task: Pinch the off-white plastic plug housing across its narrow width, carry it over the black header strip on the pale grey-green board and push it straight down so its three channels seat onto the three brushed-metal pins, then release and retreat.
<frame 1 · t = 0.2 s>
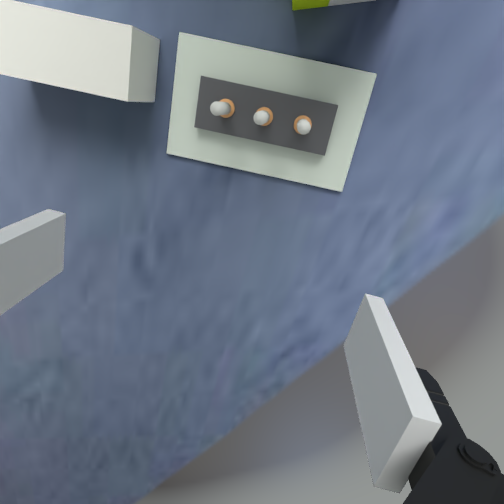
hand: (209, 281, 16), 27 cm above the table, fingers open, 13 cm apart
housing: (92, 58, 39), on the table
header: (265, 116, 39), on the table
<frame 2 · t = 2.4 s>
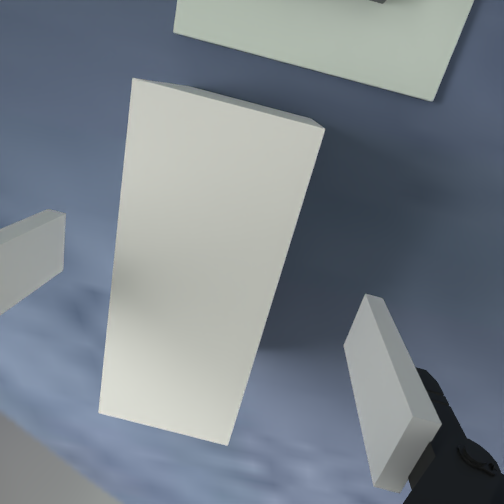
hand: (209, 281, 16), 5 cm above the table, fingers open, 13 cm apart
housing: (220, 235, 20), on the table
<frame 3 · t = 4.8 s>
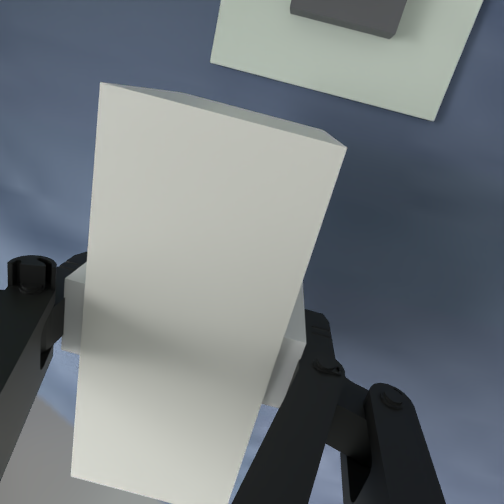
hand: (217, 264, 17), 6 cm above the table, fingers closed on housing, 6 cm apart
housing: (218, 261, 18), point 5 cm above the table, touching gripper
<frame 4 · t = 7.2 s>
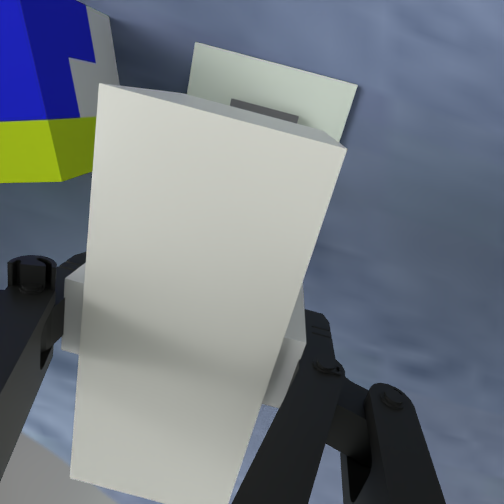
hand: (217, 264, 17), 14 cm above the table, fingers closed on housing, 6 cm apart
puzzle toy: (61, 95, 29), on the table
housing: (217, 262, 18), point 14 cm above the table, touching gripper
header: (245, 195, 30), on the table
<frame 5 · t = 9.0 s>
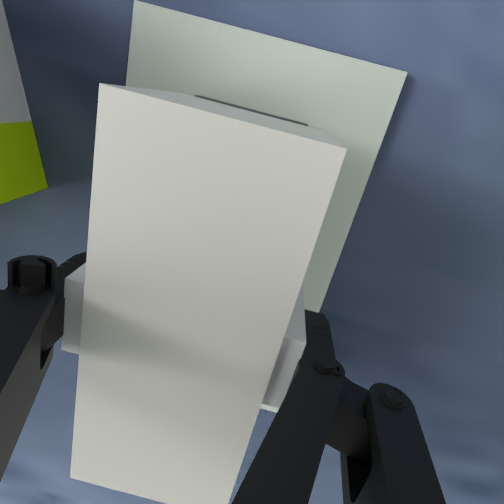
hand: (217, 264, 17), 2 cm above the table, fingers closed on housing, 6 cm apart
housing: (218, 262, 18), point 2 cm above the table, touching gripper
header: (223, 245, 20), on the table
when the fingers open (2 cm above the table, at t = 9.9 s): housing stays where it is, resting on header.
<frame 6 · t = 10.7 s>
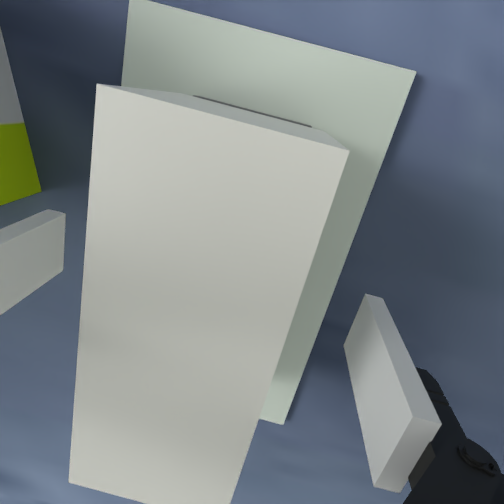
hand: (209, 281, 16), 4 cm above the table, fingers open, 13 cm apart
housing: (218, 264, 18), point 2 cm above the table, touching header
header: (223, 251, 19), on the table
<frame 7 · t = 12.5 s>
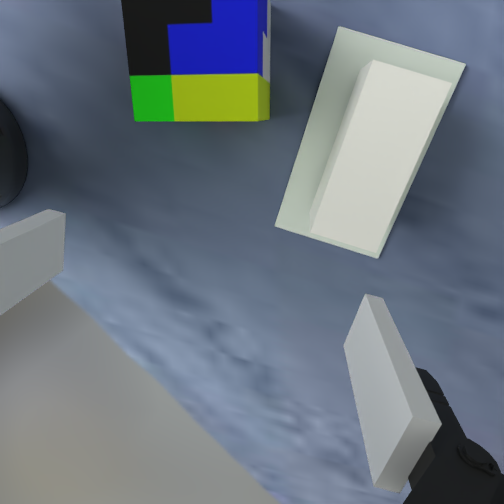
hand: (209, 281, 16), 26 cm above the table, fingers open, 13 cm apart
puzzle toy: (220, 66, 37), on the table
housing: (362, 155, 36), point 2 cm above the table, touching header
header: (359, 153, 37), on the table
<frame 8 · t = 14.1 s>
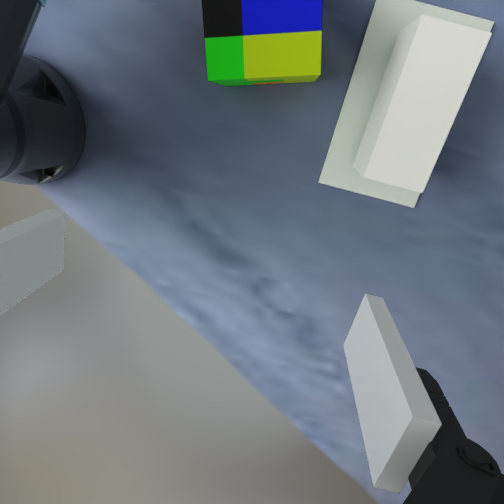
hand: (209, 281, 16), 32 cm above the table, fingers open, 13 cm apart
puzzle toy: (268, 33, 40), on the table
housing: (401, 110, 40), point 2 cm above the table, touching header
header: (397, 109, 41), on the table
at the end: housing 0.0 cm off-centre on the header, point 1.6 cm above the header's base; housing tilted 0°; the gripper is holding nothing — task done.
